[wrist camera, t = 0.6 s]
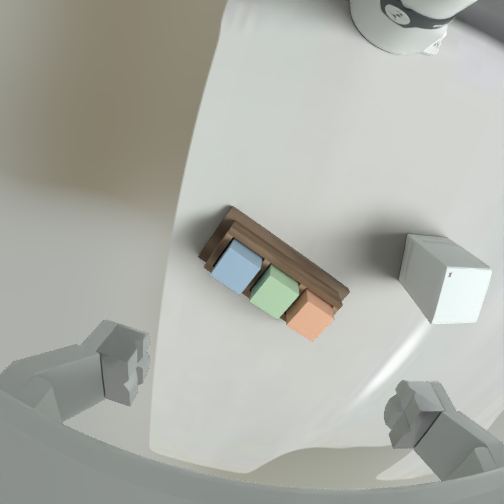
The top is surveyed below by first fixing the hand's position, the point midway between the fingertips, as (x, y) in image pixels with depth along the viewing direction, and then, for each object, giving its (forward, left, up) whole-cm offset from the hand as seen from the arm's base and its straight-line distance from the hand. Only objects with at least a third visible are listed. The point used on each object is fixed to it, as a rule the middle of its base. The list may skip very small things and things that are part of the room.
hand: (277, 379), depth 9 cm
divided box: (+12, +7, -42) cm, 44 cm away
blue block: (+12, +1, -37) cm, 39 cm away
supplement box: (-6, +27, -42) cm, 51 cm away
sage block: (+12, +7, -37) cm, 40 cm away
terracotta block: (+12, +14, -37) cm, 42 cm away
